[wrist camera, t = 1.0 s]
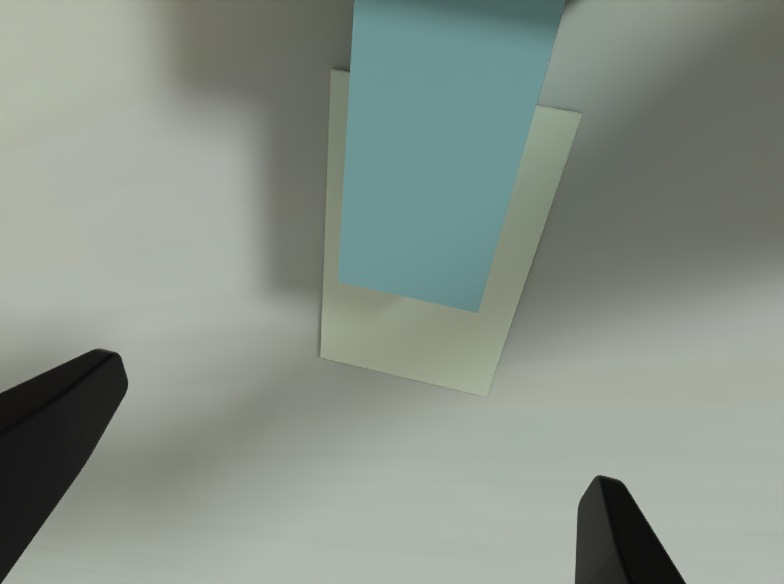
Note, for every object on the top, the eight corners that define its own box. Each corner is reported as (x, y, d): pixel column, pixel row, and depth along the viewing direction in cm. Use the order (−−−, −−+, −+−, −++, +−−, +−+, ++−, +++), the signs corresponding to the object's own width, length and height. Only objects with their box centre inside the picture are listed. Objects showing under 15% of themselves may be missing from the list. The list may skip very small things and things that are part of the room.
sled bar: (646, -357, 10) (703, -487, 7) (486, 245, 18) (477, 312, 15) (427, -374, 10) (383, -504, 7) (369, 221, 19) (337, 282, 16)
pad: (581, 112, 16) (582, 115, 15) (486, 393, 23) (486, 397, 23) (332, 68, 16) (330, 69, 16) (321, 354, 24) (320, 357, 24)
